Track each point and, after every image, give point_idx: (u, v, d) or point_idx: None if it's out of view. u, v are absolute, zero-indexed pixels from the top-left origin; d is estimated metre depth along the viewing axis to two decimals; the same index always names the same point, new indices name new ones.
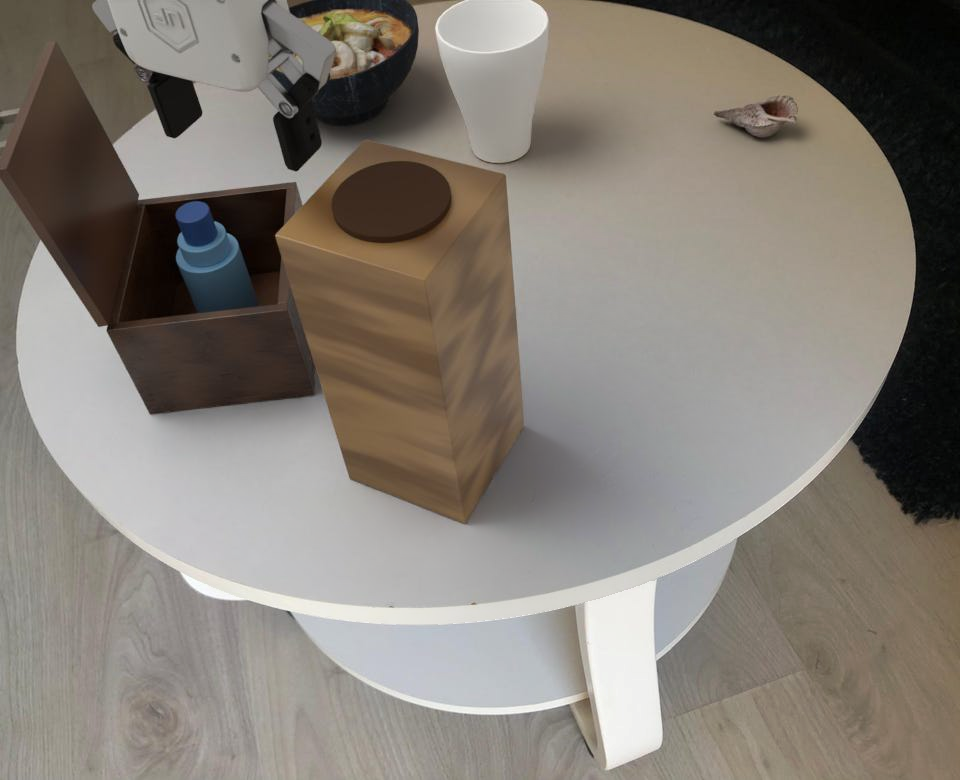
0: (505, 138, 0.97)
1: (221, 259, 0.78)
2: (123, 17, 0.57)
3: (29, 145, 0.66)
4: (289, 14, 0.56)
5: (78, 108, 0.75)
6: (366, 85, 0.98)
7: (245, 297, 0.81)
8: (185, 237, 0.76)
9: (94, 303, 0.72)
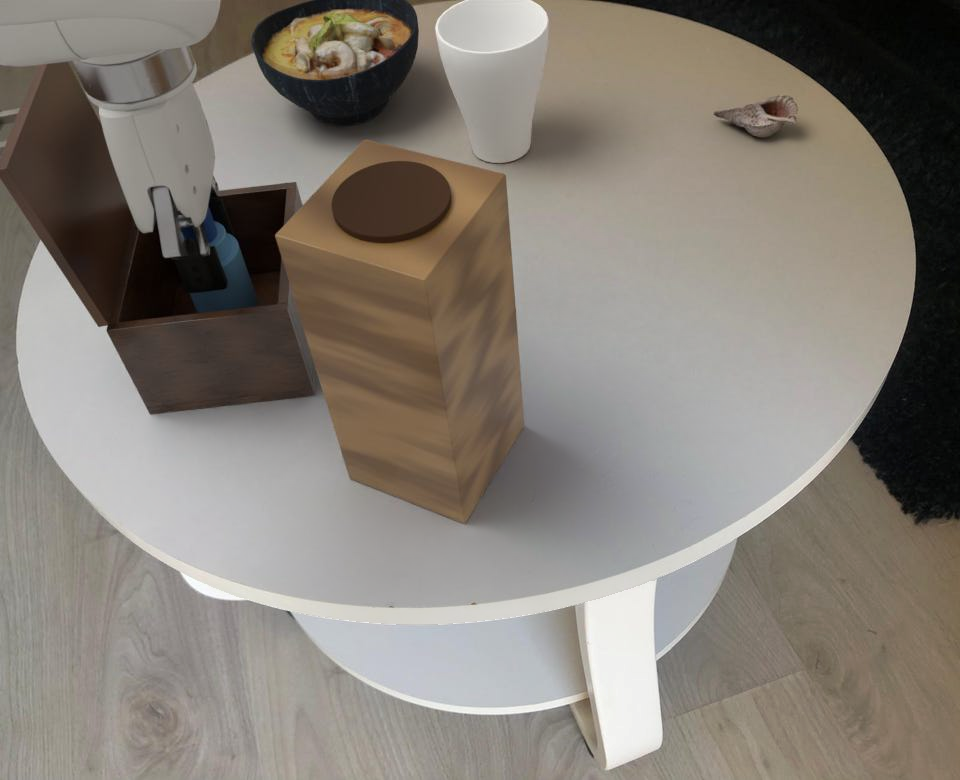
0: (505, 138, 0.97)
1: (221, 259, 0.78)
2: None
3: (29, 145, 0.66)
4: (170, 210, 0.69)
5: (78, 108, 0.75)
6: (366, 85, 0.98)
7: (245, 297, 0.81)
8: (185, 237, 0.76)
9: (94, 303, 0.72)
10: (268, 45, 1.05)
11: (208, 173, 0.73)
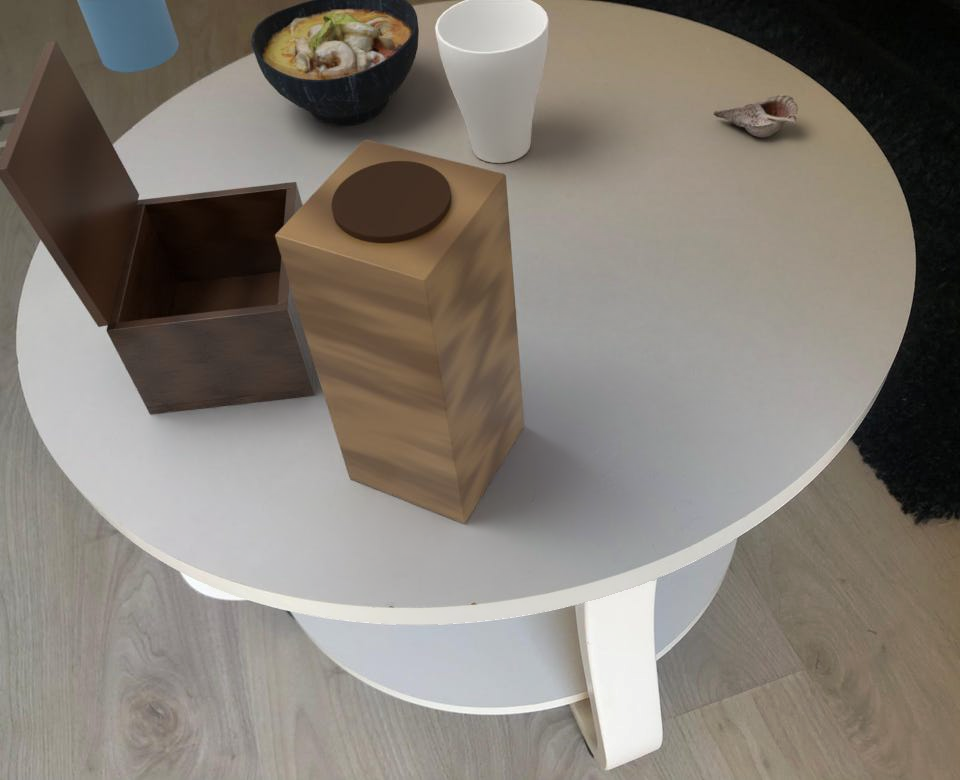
0: (505, 138, 0.97)
1: None
2: None
3: (29, 145, 0.66)
4: None
5: (78, 108, 0.75)
6: (366, 85, 0.98)
7: None
8: None
9: (94, 303, 0.72)
10: (268, 45, 1.05)
11: None
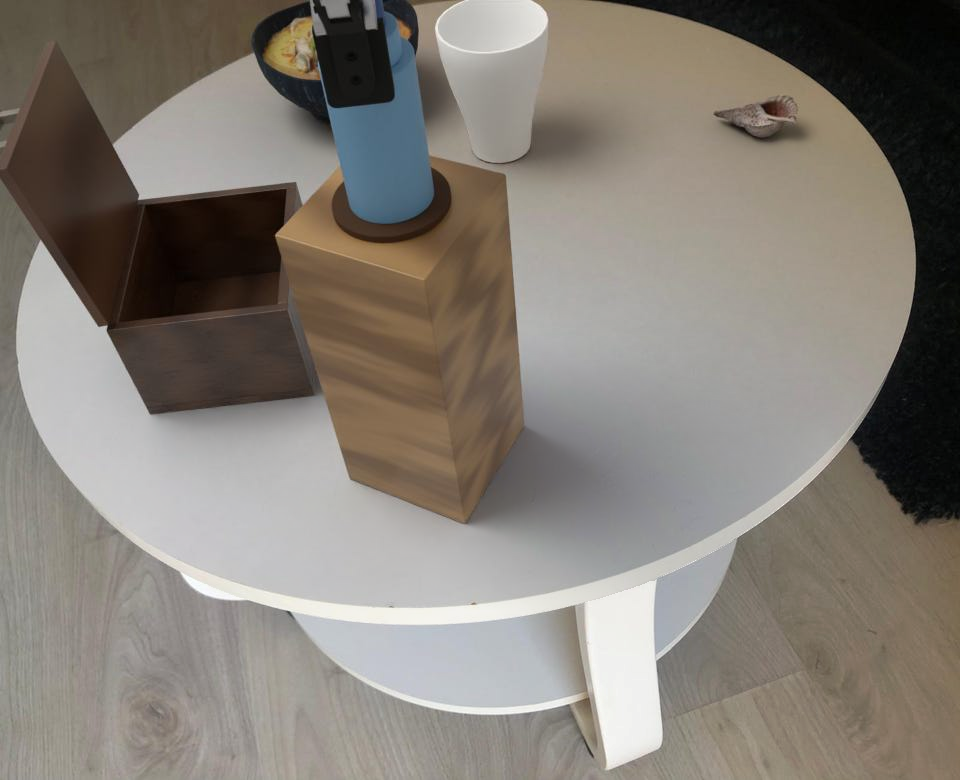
0: (505, 138, 0.97)
1: None
2: None
3: (29, 145, 0.66)
4: None
5: (78, 108, 0.75)
6: None
7: (417, 134, 0.53)
8: None
9: (94, 303, 0.72)
10: (268, 45, 1.05)
11: None
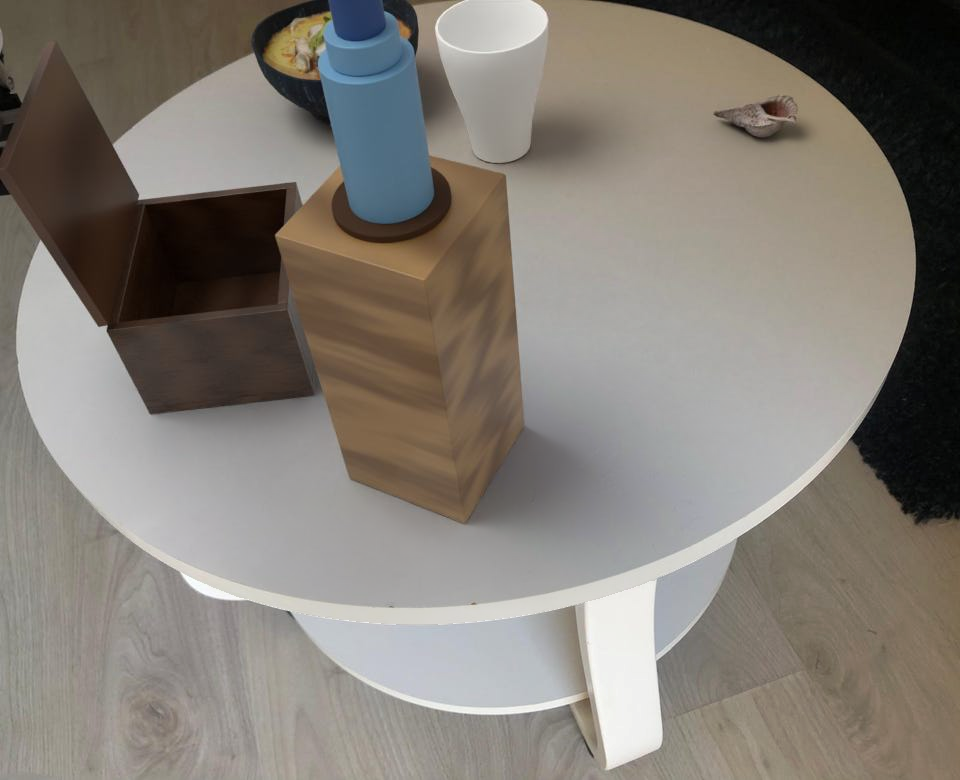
0: (505, 138, 0.97)
1: (390, 66, 0.50)
2: None
3: (29, 145, 0.66)
4: None
5: (78, 108, 0.75)
6: None
7: (417, 134, 0.53)
8: (339, 25, 0.49)
9: (94, 303, 0.72)
10: (268, 45, 1.05)
11: None
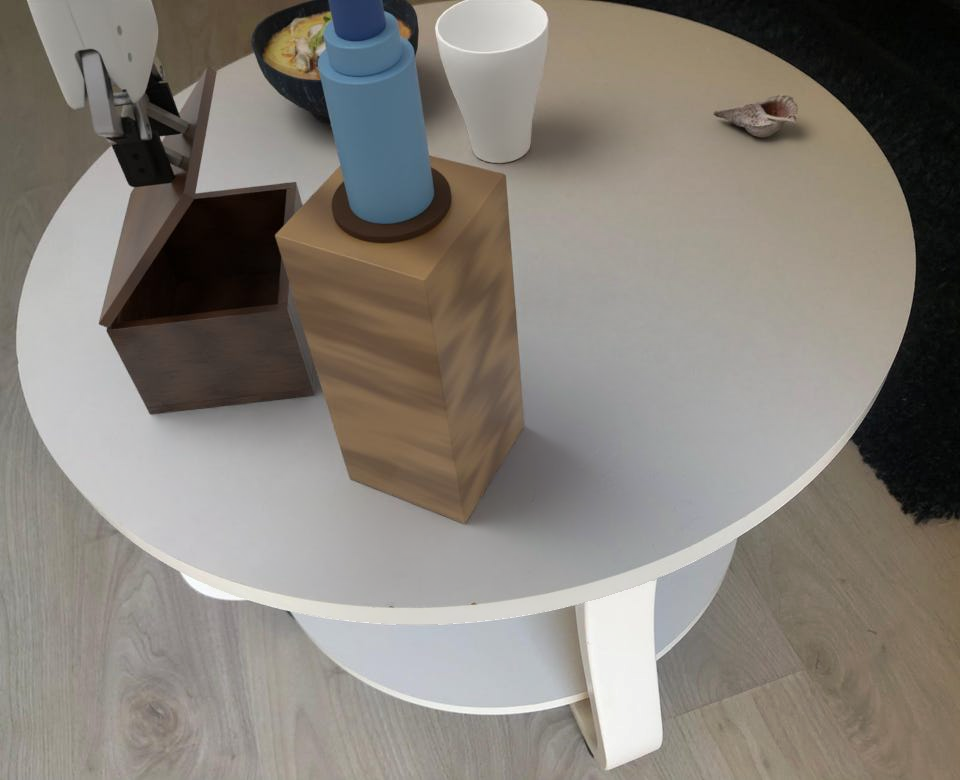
0: (505, 138, 0.97)
1: (390, 66, 0.50)
2: None
3: None
4: (102, 79, 0.61)
5: None
6: None
7: (417, 134, 0.53)
8: (339, 25, 0.49)
9: (120, 309, 0.72)
10: (268, 45, 1.05)
11: (148, 45, 0.65)
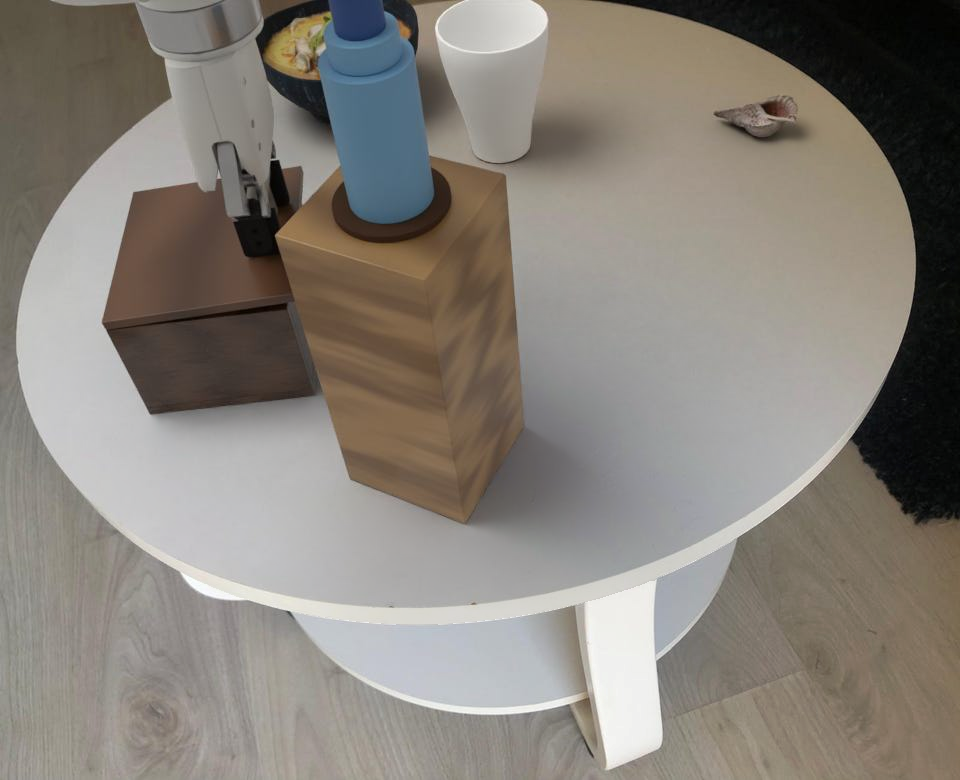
0: (505, 138, 0.97)
1: (390, 66, 0.50)
2: None
3: None
4: (235, 167, 0.67)
5: None
6: None
7: (417, 134, 0.53)
8: (339, 25, 0.49)
9: (135, 324, 0.74)
10: (268, 45, 1.05)
11: (270, 131, 0.71)
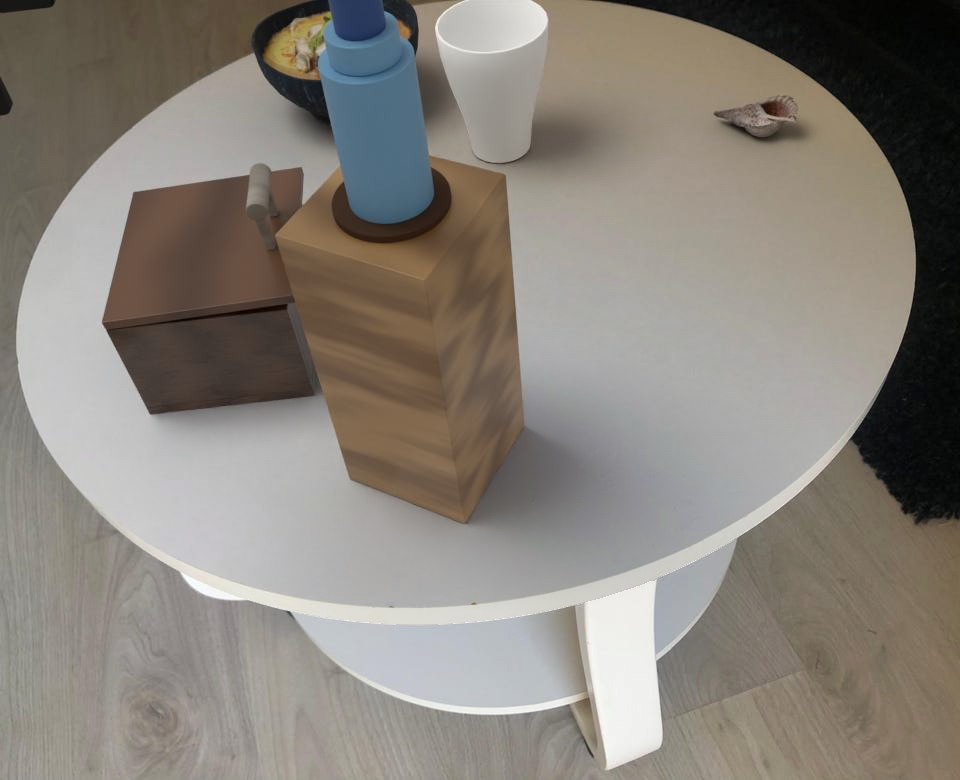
0: (505, 138, 0.97)
1: (390, 66, 0.50)
2: None
3: None
4: None
5: None
6: None
7: (417, 134, 0.53)
8: (339, 25, 0.49)
9: (135, 325, 0.74)
10: (268, 45, 1.05)
11: None
